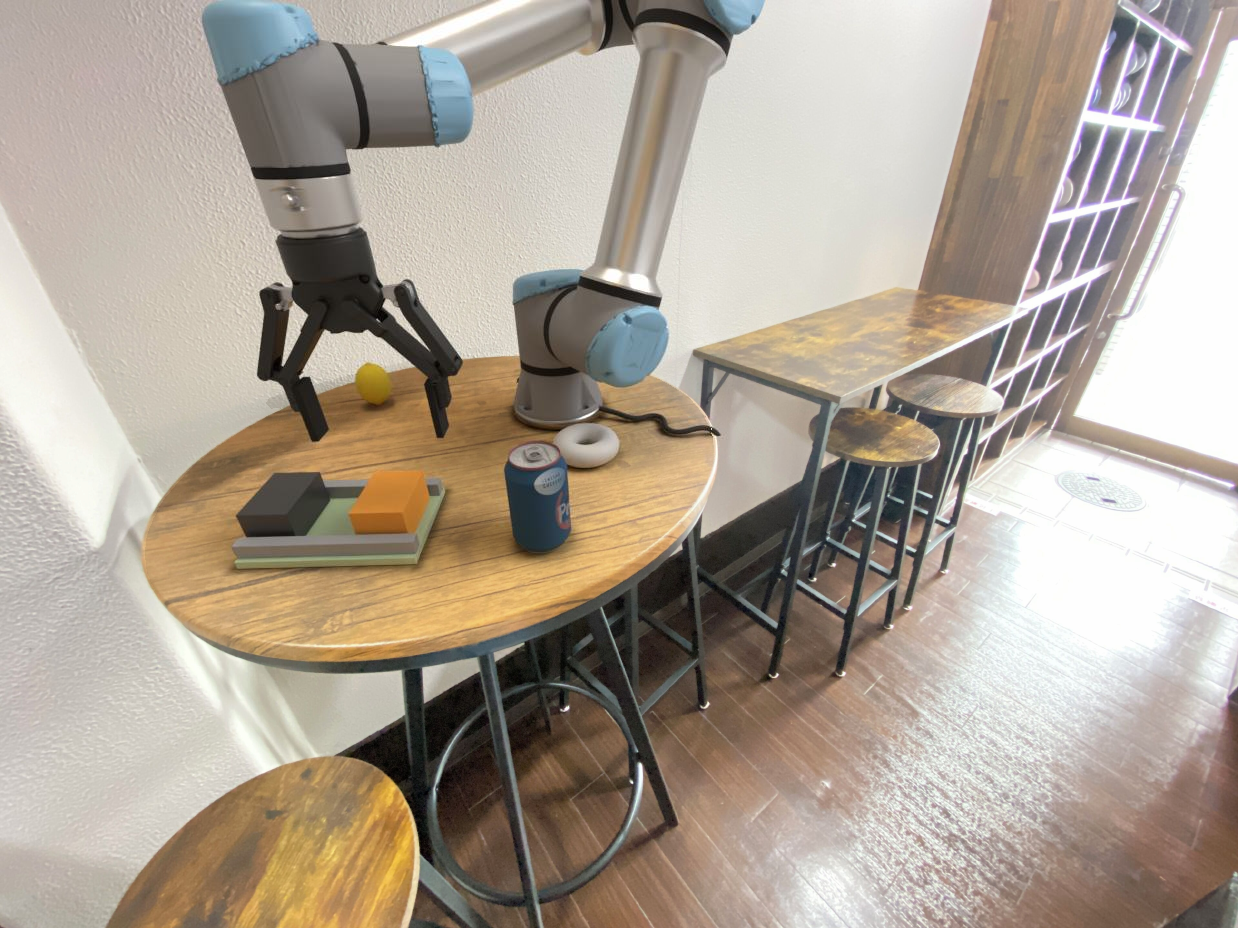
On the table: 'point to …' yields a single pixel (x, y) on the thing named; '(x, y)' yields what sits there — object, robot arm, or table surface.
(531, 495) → the soda can
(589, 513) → the table surface
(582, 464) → the donut
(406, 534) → the board
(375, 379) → the lemon
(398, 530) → the matte orange brick
